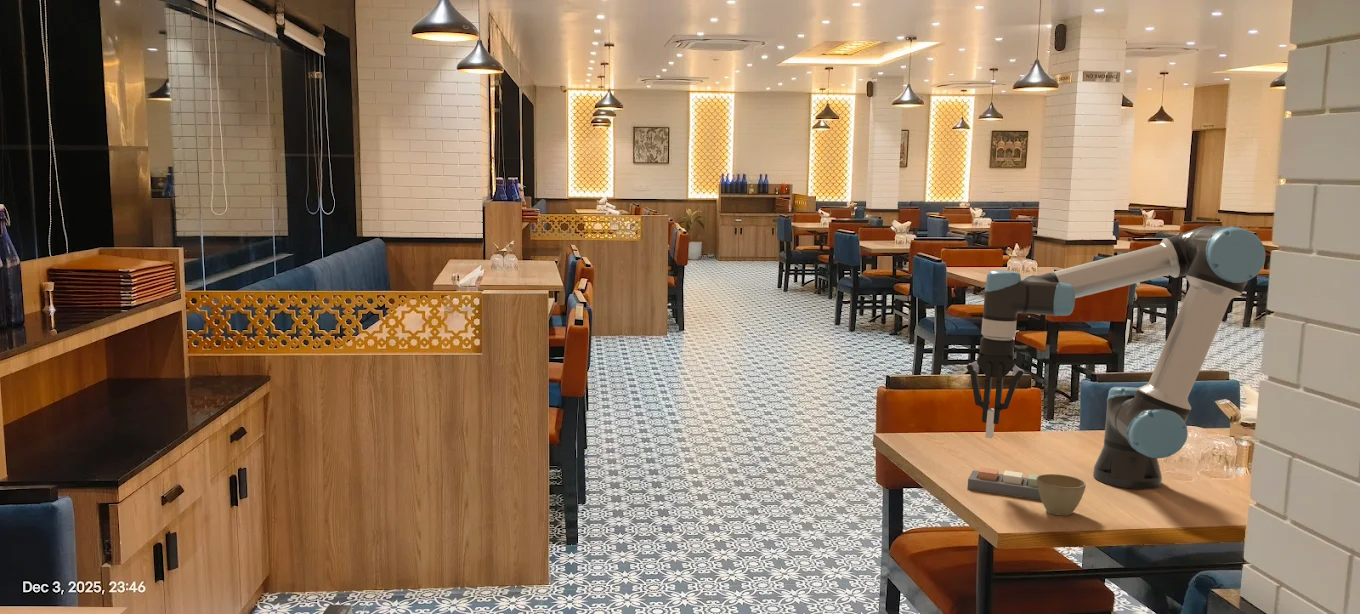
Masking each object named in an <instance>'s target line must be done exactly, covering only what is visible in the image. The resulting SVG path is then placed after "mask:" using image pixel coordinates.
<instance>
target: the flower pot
mask: <svg viewBox="0 0 1360 614" xmlns="http://www.w3.org/2000/svg"><path fill="white" fill-rule="evenodd" d="M1038 475H1039V476H1038V477H1037V486H1038V491H1039V495H1040V498H1041V500H1040V501H1041V503H1042V505H1043V506H1044V508H1045V510H1046V512H1048V513H1049V514H1051V515H1056V516H1060V517H1061V516H1064V517H1066V516H1070V515H1072V514H1073V512H1074V511H1075V510H1076V509H1077V507H1079V504H1080V502H1081V500H1082V498H1083V495H1084V494H1085V490H1086V486H1087V483H1086V481H1084V480H1083V479H1081V478H1078V477H1076V476H1072V475H1066V474H1059V473H1055V474H1054V473H1047V474H1046V473H1045V474H1038Z"/></svg>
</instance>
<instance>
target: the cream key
mask: <svg viewBox="0 0 1360 614" xmlns="http://www.w3.org/2000/svg"><path fill="white" fill-rule="evenodd" d="M1023 477H1024V472H1018V471H1017V472H1016V471H1012V470H1004V473H1003V482H1005V483H1012V484H1019V485H1022V480H1023Z"/></svg>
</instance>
